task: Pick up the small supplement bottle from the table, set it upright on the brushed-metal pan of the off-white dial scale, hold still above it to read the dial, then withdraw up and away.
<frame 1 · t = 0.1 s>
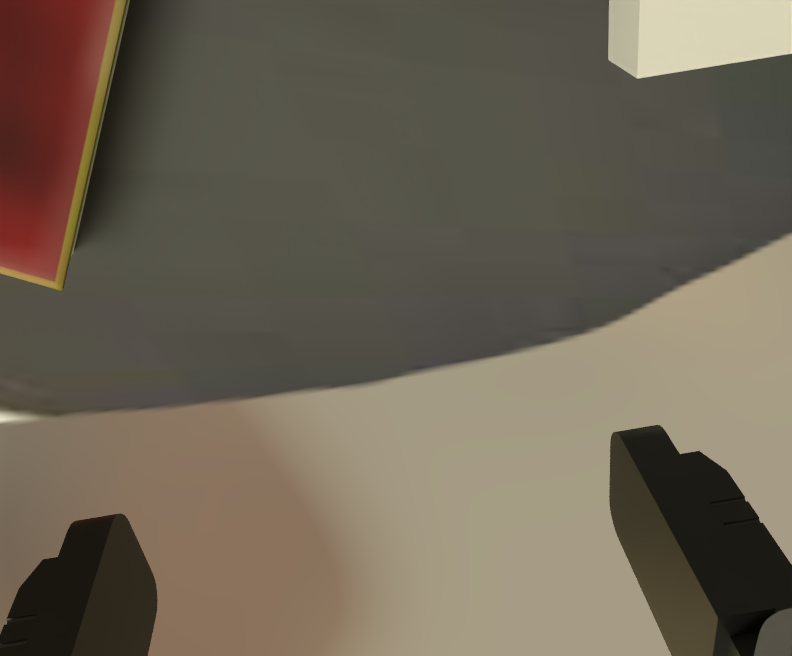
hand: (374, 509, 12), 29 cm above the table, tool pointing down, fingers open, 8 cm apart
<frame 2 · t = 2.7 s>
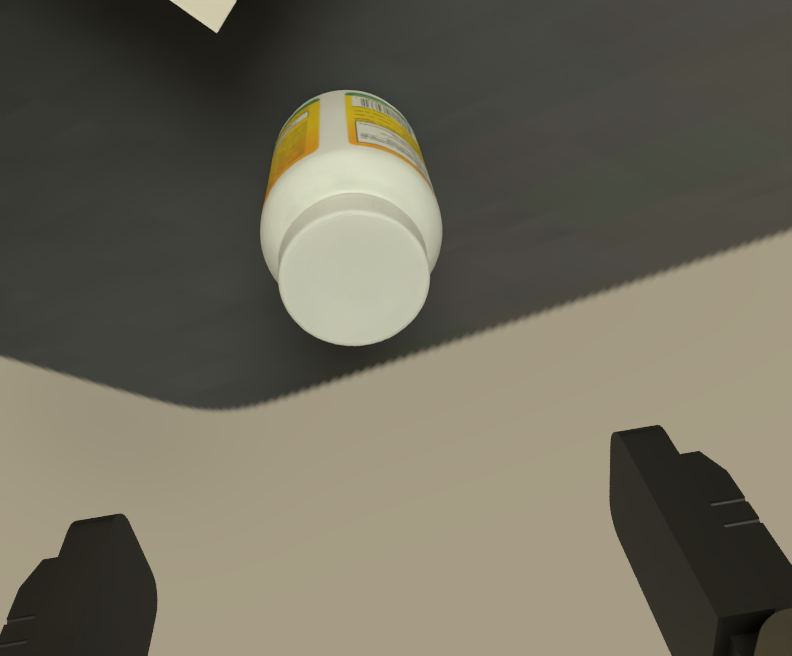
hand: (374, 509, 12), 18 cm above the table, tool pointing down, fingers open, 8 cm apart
supplement bottle: (345, 159, 28), on the table
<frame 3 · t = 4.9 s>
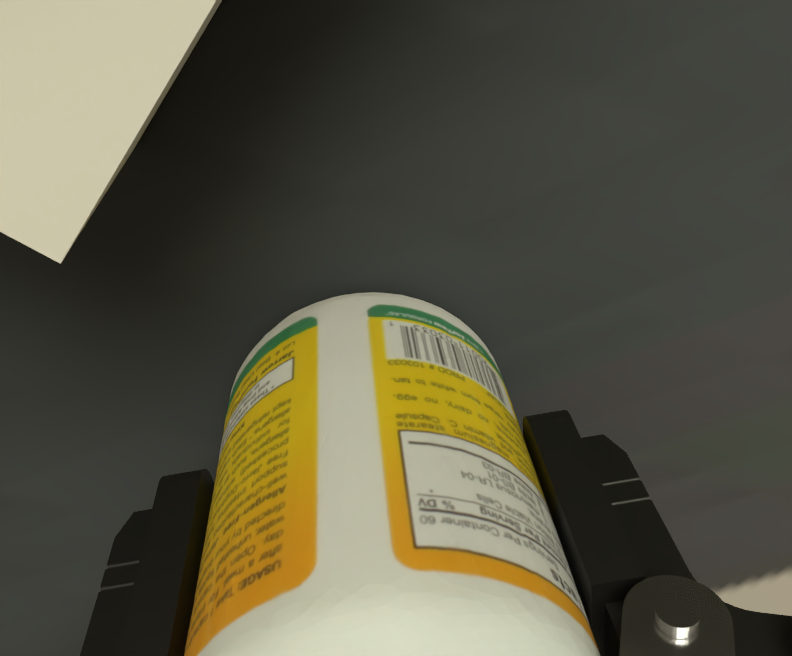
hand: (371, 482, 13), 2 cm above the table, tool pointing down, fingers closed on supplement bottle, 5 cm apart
supplement bottle: (364, 396, 15), on the table, touching gripper
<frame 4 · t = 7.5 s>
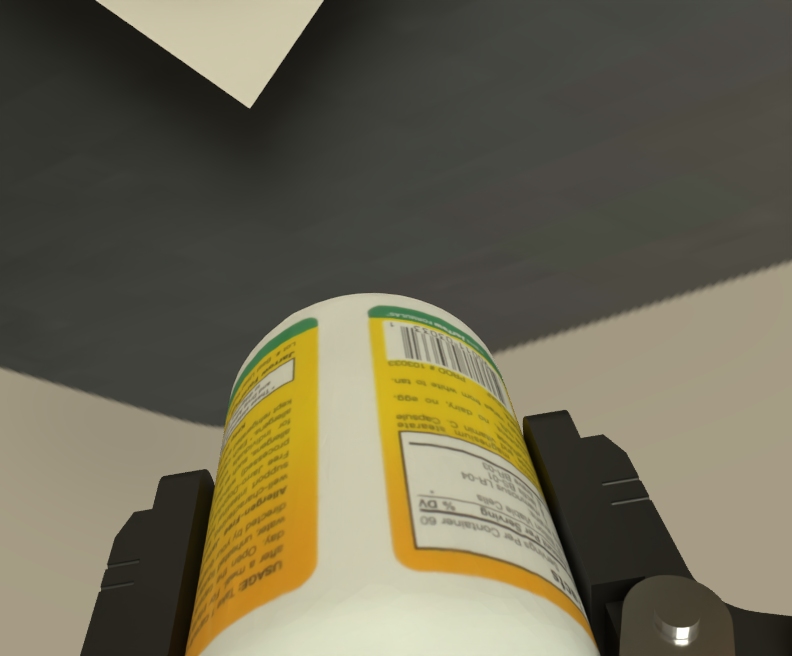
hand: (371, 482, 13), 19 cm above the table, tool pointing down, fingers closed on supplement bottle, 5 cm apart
supplement bottle: (364, 396, 15), point 17 cm above the table, touching gripper
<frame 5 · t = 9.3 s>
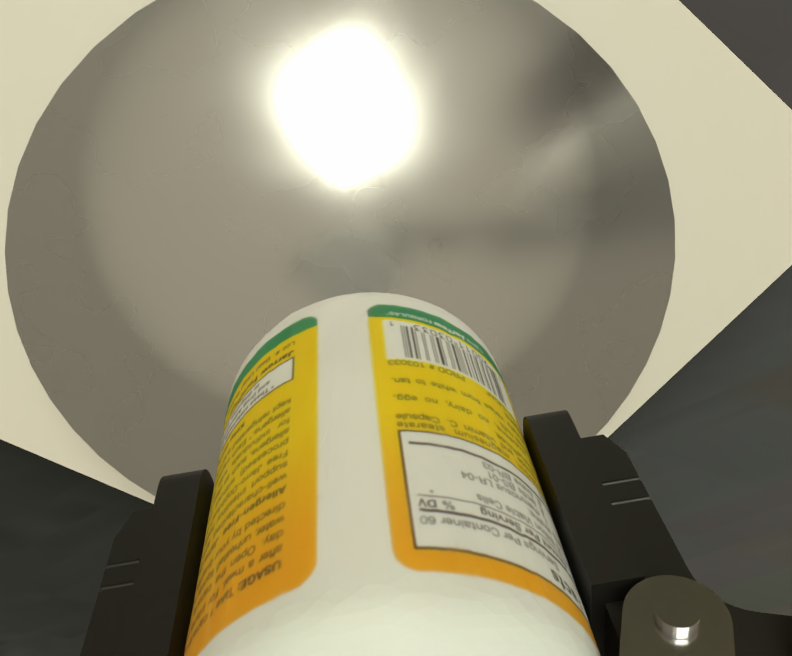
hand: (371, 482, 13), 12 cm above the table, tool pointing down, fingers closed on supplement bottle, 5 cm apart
supplement bottle: (364, 396, 15), point 10 cm above the table, touching gripper
scale base: (345, 218, 23), on the table
scale pan: (353, 304, 19), point 6 cm above the table, slide at -0.5 cm
when the fingers open (10 cm above the table, at t = 10.4 s): supplement bottle drops 2 cm, resting on scale pan.
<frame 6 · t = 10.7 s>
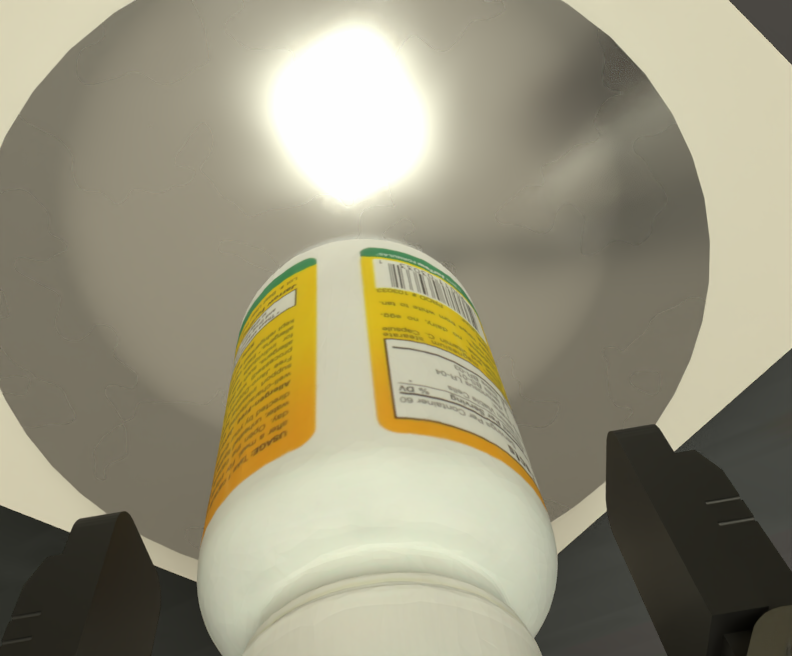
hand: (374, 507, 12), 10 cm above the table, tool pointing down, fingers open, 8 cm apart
supplement bottle: (357, 336, 17), point 5 cm above the table, touching scale pan
scale base: (349, 243, 21), on the table
scale pan: (357, 331, 17), point 5 cm above the table, slide at -1.2 cm, touching supplement bottle
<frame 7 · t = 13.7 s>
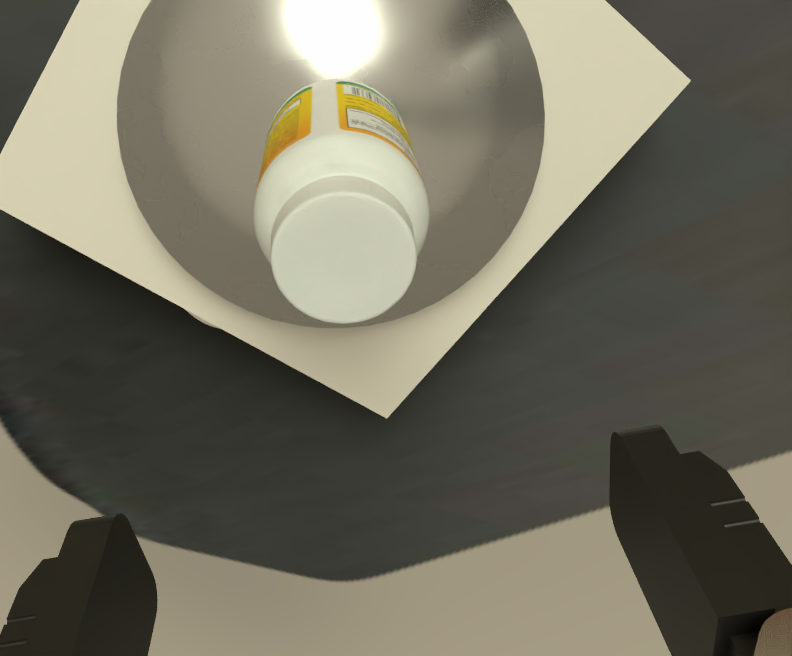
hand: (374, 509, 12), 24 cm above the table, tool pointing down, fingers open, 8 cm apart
supplement bottle: (336, 146, 29), point 5 cm above the table, touching scale pan
scale base: (333, 110, 33), on the table
scale pan: (336, 144, 29), point 5 cm above the table, slide at -1.2 cm, touching supplement bottle
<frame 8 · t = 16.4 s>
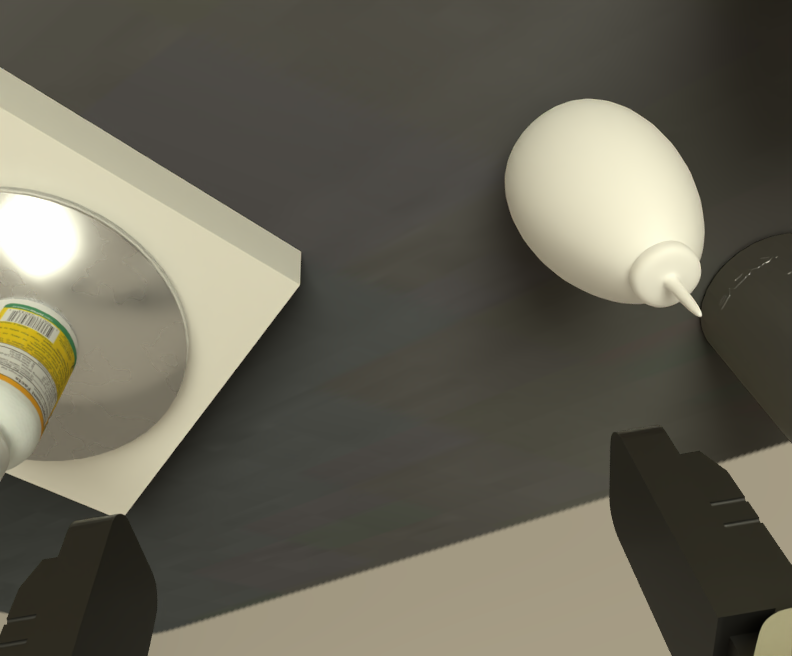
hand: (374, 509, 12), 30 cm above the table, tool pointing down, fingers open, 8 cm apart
white rubber air blower: (555, 148, 41), on the table
supplement bottle: (26, 339, 39), point 5 cm above the table, touching scale pan
scale base: (54, 292, 43), on the table
scale pan: (27, 337, 39), point 5 cm above the table, slide at -1.2 cm, touching supplement bottle
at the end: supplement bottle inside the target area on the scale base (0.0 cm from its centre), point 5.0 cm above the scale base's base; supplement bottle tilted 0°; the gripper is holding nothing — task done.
